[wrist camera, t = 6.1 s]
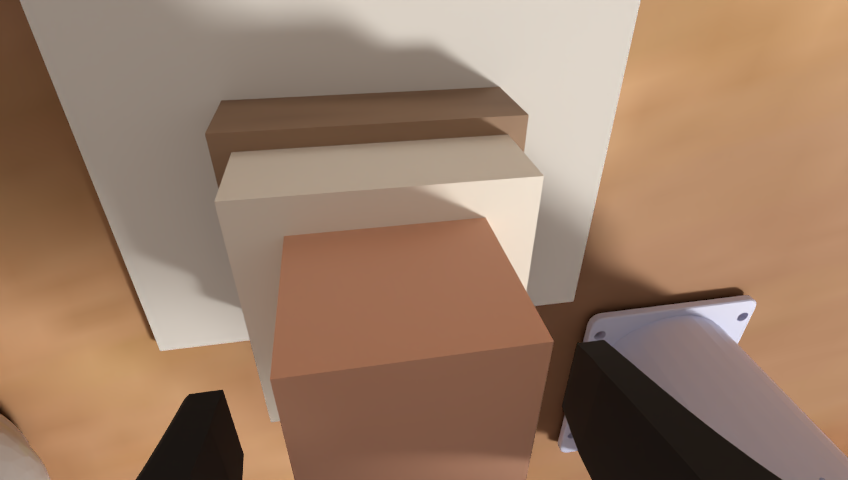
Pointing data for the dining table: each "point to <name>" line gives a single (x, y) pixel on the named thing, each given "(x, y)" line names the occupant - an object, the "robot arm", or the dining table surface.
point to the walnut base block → (360, 120)
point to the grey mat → (313, 76)
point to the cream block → (365, 207)
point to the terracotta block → (407, 355)
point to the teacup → (18, 455)
